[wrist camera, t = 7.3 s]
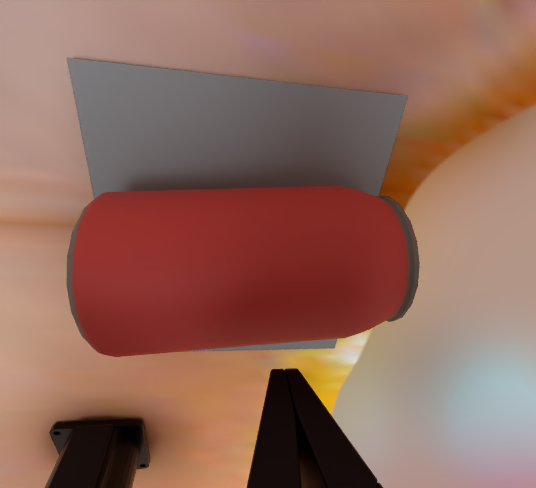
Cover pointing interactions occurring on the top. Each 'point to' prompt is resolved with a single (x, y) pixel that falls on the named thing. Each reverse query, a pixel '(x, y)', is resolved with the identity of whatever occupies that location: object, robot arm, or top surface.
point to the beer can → (237, 267)
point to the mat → (229, 135)
